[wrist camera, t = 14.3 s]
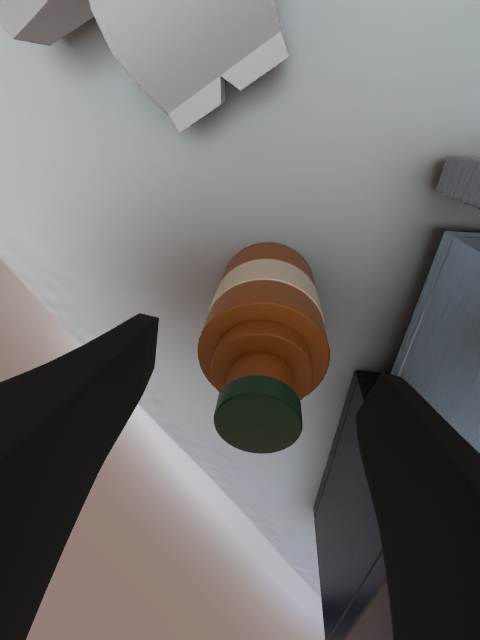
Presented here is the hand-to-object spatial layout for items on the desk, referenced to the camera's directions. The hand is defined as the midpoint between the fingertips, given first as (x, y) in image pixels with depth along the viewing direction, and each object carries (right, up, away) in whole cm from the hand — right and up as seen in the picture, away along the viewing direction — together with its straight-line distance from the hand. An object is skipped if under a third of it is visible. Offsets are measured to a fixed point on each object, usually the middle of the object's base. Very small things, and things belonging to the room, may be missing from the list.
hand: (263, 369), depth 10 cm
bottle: (+1, +3, +5) cm, 6 cm away
